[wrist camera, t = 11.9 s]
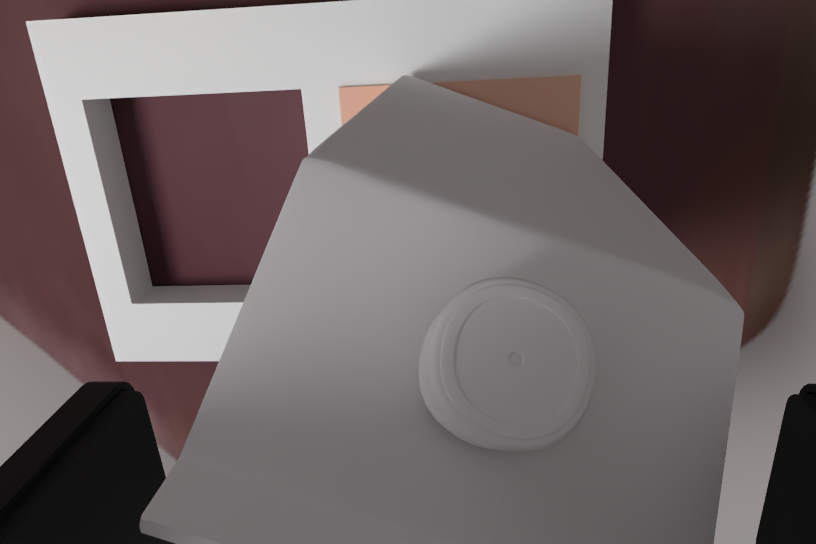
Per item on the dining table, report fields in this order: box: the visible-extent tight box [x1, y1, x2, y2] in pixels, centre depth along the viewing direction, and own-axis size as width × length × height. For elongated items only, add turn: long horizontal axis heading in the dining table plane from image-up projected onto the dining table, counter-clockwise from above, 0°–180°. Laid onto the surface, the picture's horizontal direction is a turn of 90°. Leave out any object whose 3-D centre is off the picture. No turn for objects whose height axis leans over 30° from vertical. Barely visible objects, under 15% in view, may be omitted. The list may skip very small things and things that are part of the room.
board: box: [26, 0, 613, 361], centre depth 26 cm, size 22×15×2 cm
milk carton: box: [139, 75, 744, 544], centre depth 16 cm, size 7×7×19 cm
